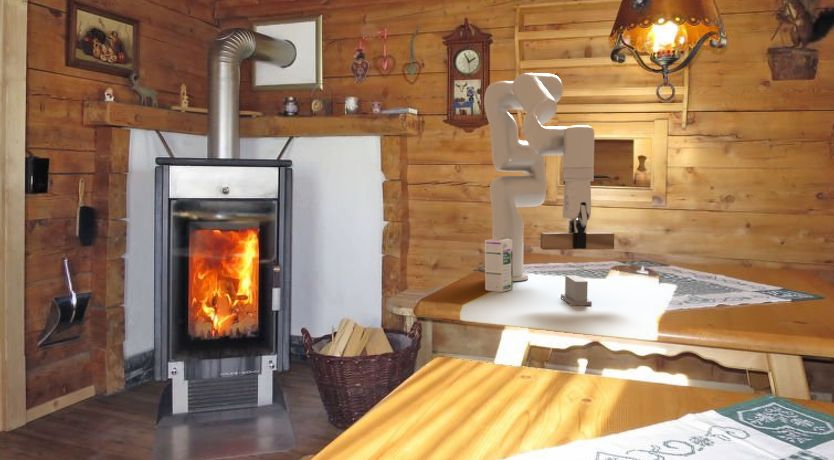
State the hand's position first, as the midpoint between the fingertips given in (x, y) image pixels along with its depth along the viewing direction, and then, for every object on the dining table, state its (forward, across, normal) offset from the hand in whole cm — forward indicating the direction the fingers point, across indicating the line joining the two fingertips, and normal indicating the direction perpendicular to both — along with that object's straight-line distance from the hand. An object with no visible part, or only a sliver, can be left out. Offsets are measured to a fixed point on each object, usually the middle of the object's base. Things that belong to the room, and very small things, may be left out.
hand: (577, 246), depth 180 cm
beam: (0, 0, 0) cm, 0 cm away
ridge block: (+14, 0, 0) cm, 14 cm away
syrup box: (+14, -18, -17) cm, 29 cm away
